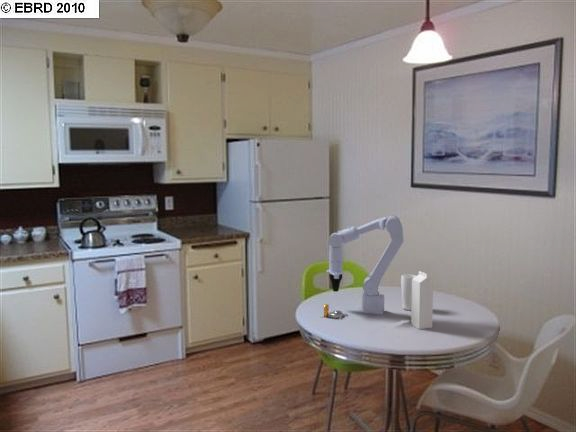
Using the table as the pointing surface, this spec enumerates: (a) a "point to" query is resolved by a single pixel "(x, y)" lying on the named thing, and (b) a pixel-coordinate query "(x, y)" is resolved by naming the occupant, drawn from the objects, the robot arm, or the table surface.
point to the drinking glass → (406, 291)
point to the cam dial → (332, 313)
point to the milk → (422, 301)
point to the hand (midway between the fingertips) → (335, 291)
